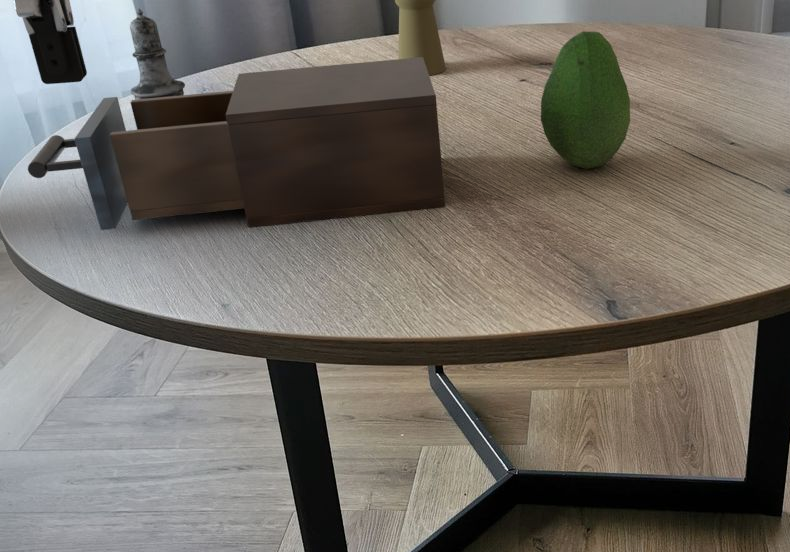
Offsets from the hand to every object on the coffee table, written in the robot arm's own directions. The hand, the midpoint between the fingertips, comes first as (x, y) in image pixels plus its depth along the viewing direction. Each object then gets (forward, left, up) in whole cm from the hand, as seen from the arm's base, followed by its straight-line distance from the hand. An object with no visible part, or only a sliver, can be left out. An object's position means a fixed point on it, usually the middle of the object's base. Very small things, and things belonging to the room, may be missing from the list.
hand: (65, 79), depth 78 cm
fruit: (+43, 0, -12) cm, 45 cm away
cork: (+31, +39, -12) cm, 51 cm away
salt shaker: (+1, +28, -12) cm, 30 cm away
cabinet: (+21, 0, -12) cm, 24 cm away
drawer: (+6, 0, -11) cm, 13 cm away
